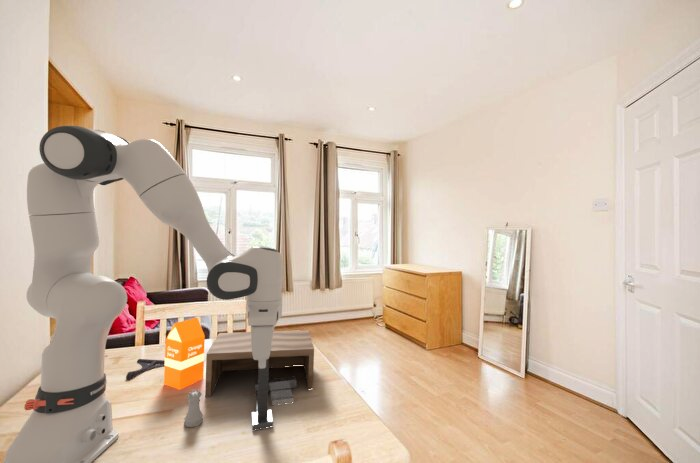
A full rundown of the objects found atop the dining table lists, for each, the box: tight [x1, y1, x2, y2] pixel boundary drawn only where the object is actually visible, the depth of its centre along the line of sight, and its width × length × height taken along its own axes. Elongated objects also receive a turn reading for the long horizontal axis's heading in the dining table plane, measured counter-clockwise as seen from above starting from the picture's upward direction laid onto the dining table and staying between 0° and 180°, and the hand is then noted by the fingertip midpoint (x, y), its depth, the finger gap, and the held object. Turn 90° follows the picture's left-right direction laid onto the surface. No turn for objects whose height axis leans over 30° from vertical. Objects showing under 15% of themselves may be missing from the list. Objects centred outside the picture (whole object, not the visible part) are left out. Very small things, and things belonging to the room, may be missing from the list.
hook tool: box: [251, 359, 297, 431], centre depth 91 cm, size 18×14×20 cm
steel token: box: [270, 388, 294, 406], centre depth 96 cm, size 6×6×2 cm
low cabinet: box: [204, 329, 315, 398], centre depth 109 cm, size 20×32×13 cm, turn 102°
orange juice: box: [163, 317, 206, 390], centre depth 106 cm, size 8×9×20 cm
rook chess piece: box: [183, 389, 204, 428], centre depth 83 cm, size 4×4×8 cm
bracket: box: [125, 358, 165, 381], centre depth 113 cm, size 14×15×3 cm
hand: (262, 364), depth 82 cm, fingers closed on hook tool, 3 cm apart
